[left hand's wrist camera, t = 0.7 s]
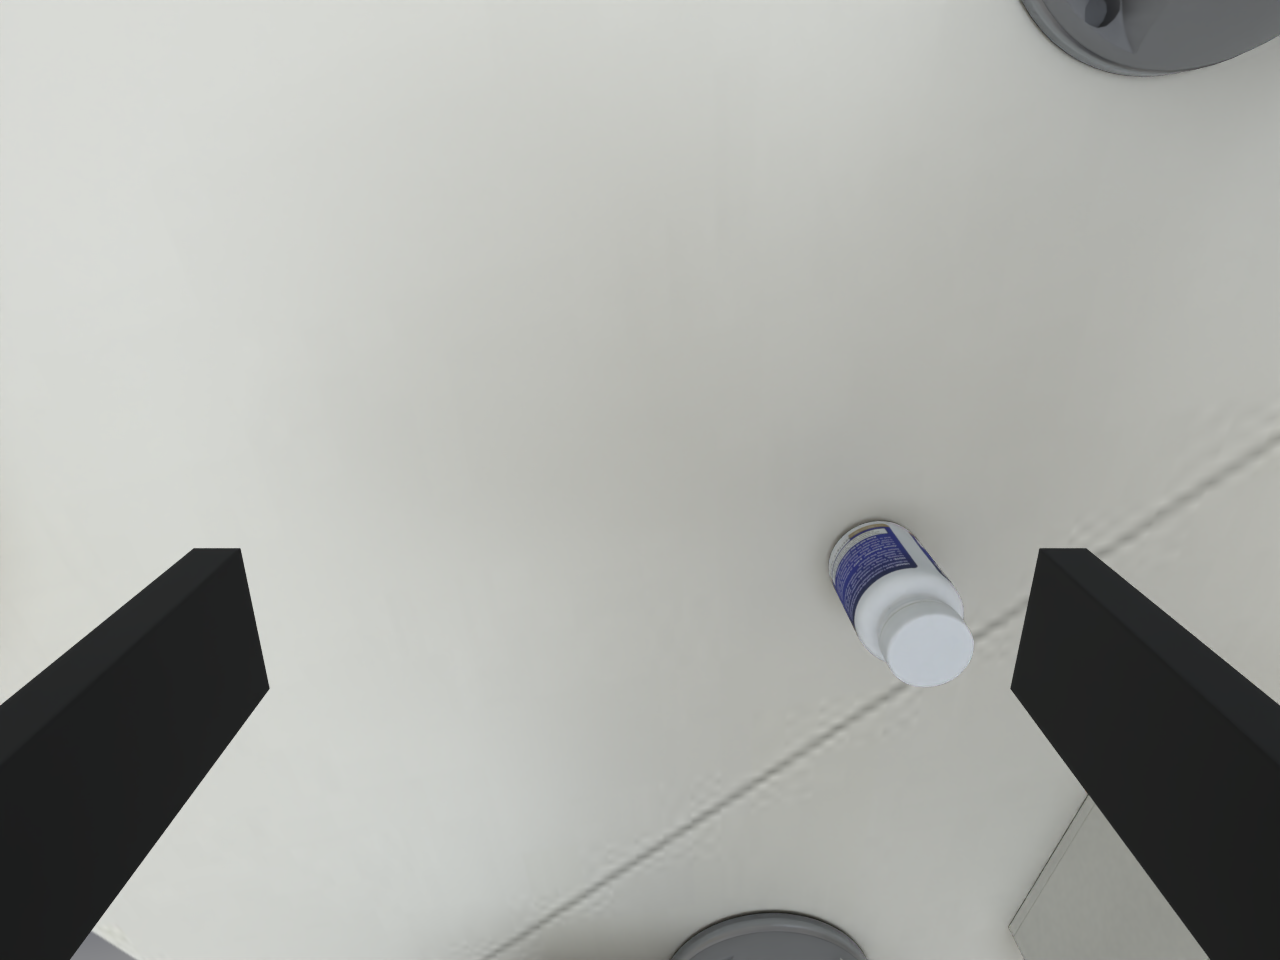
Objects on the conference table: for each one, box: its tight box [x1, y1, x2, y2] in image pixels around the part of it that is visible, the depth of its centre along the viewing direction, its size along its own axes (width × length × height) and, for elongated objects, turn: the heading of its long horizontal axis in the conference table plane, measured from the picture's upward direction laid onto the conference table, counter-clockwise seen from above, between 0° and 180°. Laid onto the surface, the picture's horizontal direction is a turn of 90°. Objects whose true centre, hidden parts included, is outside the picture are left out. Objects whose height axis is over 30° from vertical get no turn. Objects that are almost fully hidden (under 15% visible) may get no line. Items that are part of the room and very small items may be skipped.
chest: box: [1009, 795, 1209, 960], centre depth 46 cm, size 17×9×11 cm, turn 166°
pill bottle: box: [829, 521, 974, 687], centre depth 39 cm, size 5×5×9 cm
